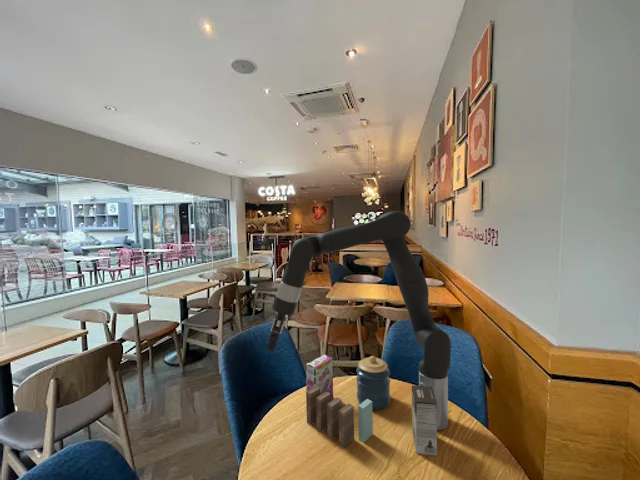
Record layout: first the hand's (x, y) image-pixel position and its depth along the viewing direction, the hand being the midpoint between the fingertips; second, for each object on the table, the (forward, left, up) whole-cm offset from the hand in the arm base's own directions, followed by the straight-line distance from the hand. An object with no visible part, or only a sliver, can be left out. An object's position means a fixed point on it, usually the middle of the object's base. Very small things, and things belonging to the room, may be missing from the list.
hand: (271, 345), depth 89 cm
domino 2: (-14, +9, -31) cm, 35 cm away
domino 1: (-14, +4, -31) cm, 34 cm away
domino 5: (-20, +22, -31) cm, 43 cm away
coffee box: (-30, +37, -31) cm, 57 cm away
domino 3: (-14, +14, -31) cm, 36 cm away
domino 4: (-14, +19, -31) cm, 39 cm away
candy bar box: (-24, -2, -31) cm, 39 cm away
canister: (-38, +13, -31) cm, 51 cm away
